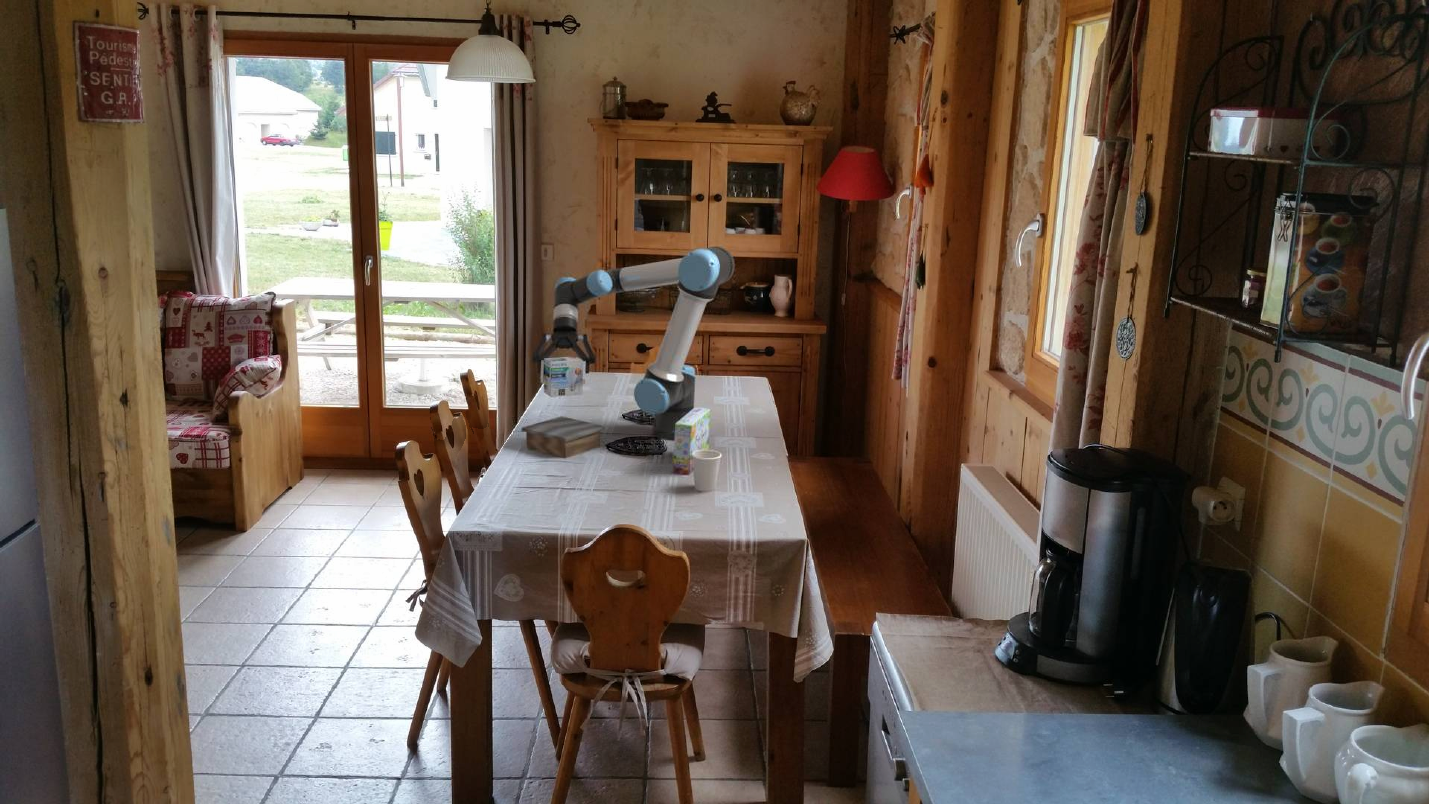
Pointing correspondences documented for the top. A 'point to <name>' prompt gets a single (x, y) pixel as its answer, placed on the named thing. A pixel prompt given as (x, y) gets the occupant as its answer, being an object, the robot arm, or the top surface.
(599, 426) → the podium
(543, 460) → the top surface
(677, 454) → the snack box
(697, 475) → the dixie cup
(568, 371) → the light bulb box
